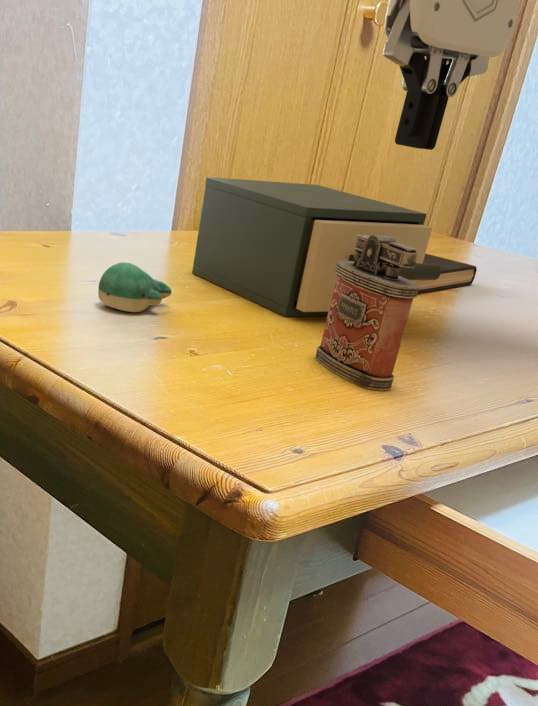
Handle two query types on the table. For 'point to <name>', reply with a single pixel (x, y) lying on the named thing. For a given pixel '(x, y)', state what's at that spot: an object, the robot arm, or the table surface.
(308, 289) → the drawer
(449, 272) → the hardcover book
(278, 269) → the cabinet
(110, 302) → the whale figurine
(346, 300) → the lighter
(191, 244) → the table surface
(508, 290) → the table surface
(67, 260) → the table surface
